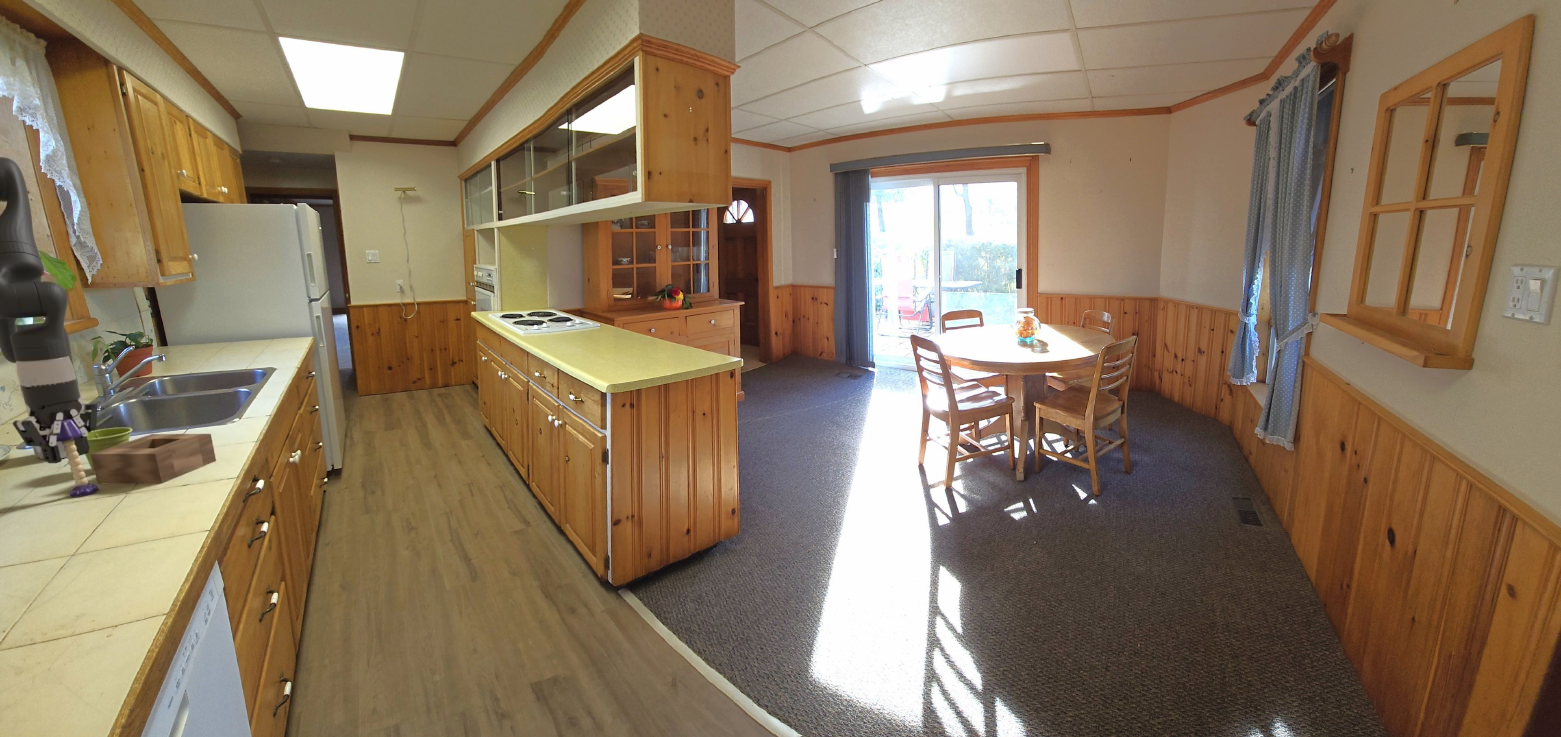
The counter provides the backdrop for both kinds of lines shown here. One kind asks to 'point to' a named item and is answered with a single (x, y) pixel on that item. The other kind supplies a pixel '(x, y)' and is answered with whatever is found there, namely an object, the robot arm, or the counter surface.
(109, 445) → the plant pot
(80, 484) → the toy lamp
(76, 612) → the counter surface
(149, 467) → the socket block
